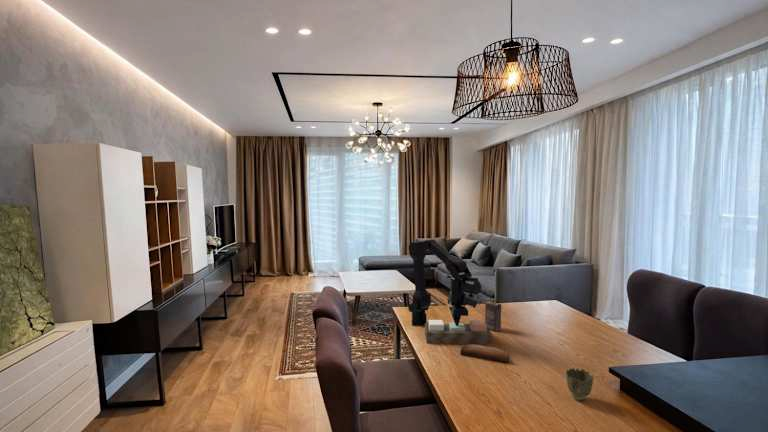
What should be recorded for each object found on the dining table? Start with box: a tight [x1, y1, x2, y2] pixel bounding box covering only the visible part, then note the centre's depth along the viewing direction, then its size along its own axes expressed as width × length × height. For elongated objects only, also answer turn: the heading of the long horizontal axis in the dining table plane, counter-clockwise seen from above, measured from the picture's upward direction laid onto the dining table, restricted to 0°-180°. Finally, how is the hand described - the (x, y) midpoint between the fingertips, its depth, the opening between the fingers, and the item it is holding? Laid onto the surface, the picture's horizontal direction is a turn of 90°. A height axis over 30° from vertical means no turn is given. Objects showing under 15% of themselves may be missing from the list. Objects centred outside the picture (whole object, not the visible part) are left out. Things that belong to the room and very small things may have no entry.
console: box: [424, 322, 492, 345], centre depth 159 cm, size 27×11×4 cm, turn 88°
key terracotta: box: [469, 319, 487, 331], centre depth 158 cm, size 6×6×4 cm
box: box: [484, 301, 502, 332], centre depth 170 cm, size 6×4×12 cm
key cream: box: [428, 319, 445, 331], centre depth 159 cm, size 6×6×4 cm
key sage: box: [448, 322, 465, 331], centre depth 159 cm, size 6×6×4 cm
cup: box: [565, 367, 595, 402], centre depth 112 cm, size 8×7×8 cm
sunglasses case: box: [460, 344, 510, 363], centre depth 142 cm, size 18×7×7 cm
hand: (456, 325), depth 159 cm, fingers closed, pressing on key sage
